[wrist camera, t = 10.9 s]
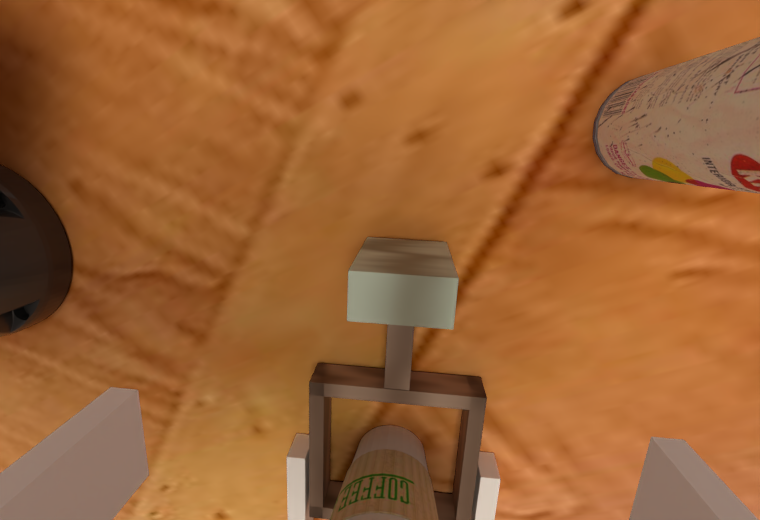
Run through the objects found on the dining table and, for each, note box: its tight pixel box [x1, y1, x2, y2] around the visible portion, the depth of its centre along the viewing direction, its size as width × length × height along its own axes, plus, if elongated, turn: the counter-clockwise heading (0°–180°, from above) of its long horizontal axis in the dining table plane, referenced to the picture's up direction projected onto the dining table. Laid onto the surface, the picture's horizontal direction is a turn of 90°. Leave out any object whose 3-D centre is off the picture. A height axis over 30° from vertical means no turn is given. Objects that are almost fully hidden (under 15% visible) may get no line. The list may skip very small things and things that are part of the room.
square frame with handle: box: [309, 237, 487, 520], centre depth 30 cm, size 14×25×10 cm, turn 177°
